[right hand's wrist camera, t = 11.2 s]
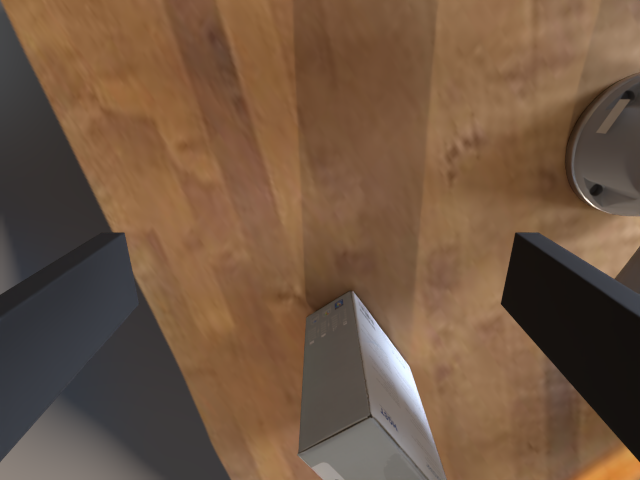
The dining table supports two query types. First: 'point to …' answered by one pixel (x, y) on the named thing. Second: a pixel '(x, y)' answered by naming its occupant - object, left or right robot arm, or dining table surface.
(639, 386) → the right robot arm
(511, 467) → the dining table surface
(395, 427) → the hard drive box
